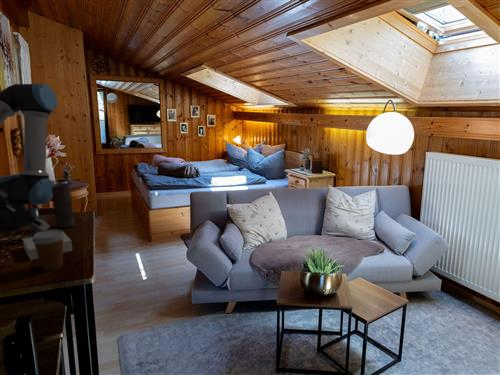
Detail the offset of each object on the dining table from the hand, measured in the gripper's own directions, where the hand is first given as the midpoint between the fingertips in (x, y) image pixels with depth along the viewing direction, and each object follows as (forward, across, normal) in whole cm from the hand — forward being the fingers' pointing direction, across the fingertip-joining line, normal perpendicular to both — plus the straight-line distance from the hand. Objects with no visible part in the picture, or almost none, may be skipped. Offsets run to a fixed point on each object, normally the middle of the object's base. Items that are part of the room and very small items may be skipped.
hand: (46, 227), depth 151 cm
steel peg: (0, 0, -6) cm, 6 cm away
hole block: (+1, +16, -5) cm, 17 cm away
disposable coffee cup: (0, +34, -7) cm, 35 cm away
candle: (+10, -9, +3) cm, 14 cm away
